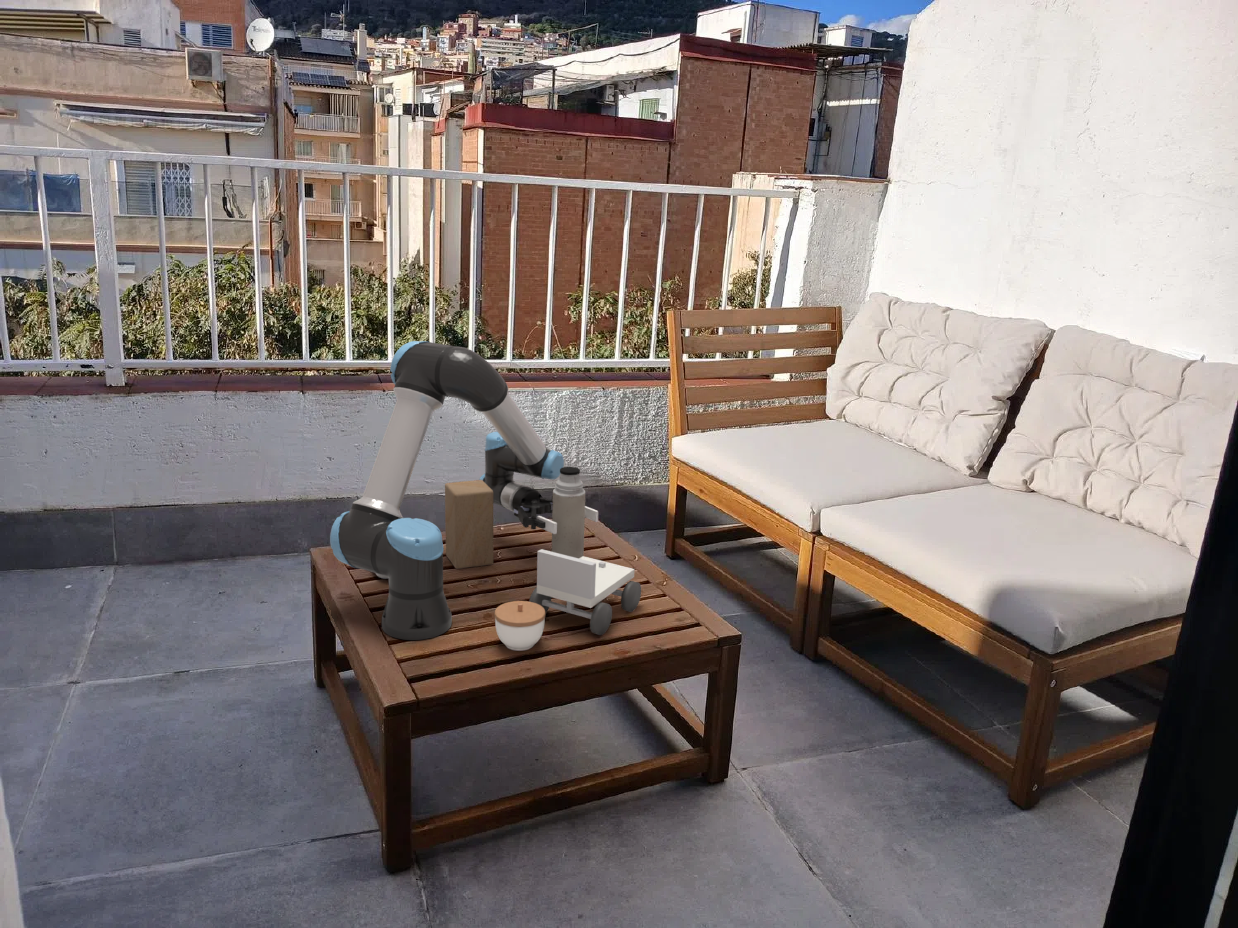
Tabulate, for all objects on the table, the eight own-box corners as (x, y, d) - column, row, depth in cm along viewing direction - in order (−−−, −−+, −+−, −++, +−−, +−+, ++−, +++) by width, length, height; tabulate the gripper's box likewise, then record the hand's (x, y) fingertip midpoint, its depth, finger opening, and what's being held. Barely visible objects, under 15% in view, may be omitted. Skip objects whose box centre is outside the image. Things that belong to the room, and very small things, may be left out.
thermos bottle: (546, 571, 248) (548, 465, 239) (575, 566, 251) (578, 462, 243) (558, 583, 241) (560, 475, 233) (587, 578, 244) (591, 471, 236)
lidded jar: (484, 645, 208) (484, 605, 206) (516, 628, 217) (516, 589, 214) (523, 661, 203) (523, 620, 200) (554, 642, 211) (555, 602, 208)
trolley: (595, 640, 213) (598, 568, 208) (528, 620, 221) (529, 550, 216) (640, 605, 230) (643, 538, 225) (576, 588, 238) (578, 522, 233)
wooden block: (445, 555, 255) (444, 482, 249) (482, 550, 259) (482, 478, 253) (455, 569, 246) (454, 494, 240) (493, 564, 250) (493, 490, 244)
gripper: (558, 503, 263) (612, 525, 249) (483, 523, 246) (537, 548, 232) (558, 477, 261) (613, 497, 247) (483, 495, 244) (537, 518, 230)
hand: (576, 522), depth 239 cm, fingers open, 13 cm apart
